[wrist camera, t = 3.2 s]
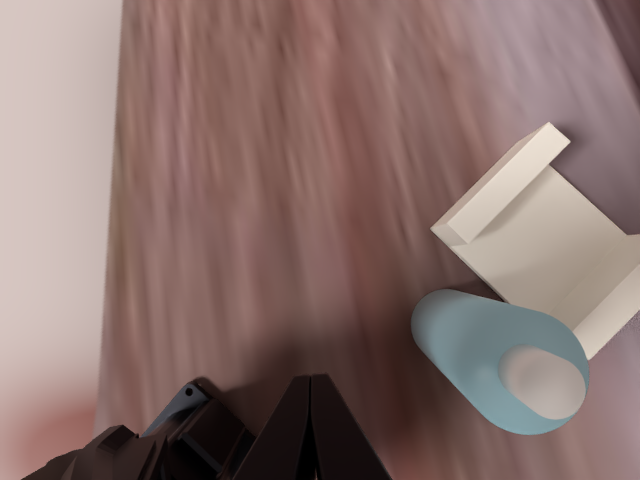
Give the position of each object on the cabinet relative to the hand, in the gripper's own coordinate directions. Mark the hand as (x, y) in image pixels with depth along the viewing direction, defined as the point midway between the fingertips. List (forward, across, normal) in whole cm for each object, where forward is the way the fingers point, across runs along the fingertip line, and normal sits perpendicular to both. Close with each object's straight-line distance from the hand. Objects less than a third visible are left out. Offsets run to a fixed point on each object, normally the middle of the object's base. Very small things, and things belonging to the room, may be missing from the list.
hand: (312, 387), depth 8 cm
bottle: (+10, -8, +6) cm, 15 cm away
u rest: (+12, -14, +2) cm, 19 cm away
